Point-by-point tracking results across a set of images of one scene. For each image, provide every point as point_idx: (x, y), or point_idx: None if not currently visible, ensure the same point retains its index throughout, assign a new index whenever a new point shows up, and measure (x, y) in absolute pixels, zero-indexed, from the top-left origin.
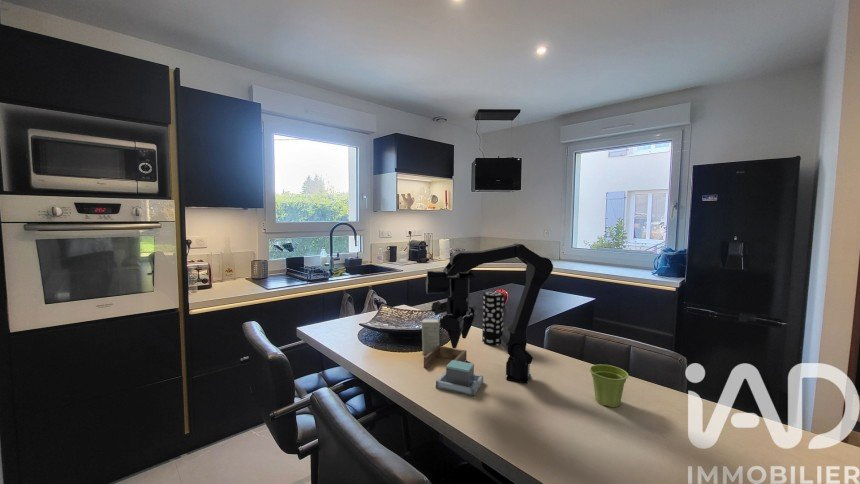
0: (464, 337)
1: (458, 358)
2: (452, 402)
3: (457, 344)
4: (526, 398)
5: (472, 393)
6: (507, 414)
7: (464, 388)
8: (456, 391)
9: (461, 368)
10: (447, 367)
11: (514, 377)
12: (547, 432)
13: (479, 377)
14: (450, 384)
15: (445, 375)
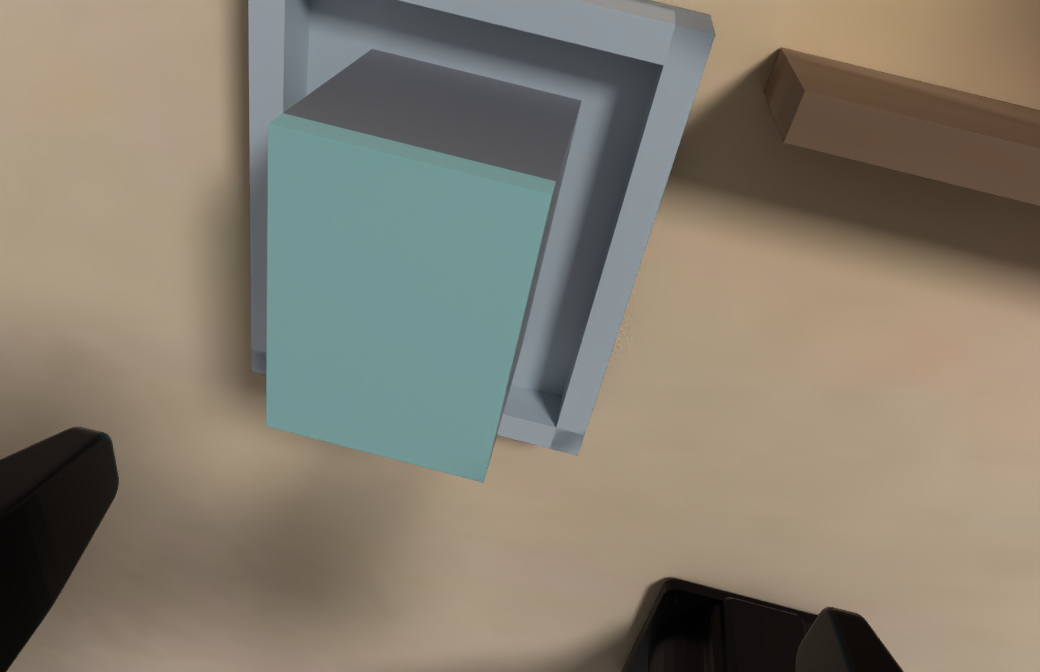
0: (811, 660)
1: (997, 193)
2: (93, 165)
3: (65, 578)
4: (405, 638)
5: None
6: (157, 526)
7: (254, 289)
8: None
9: (280, 349)
10: (276, 139)
11: (659, 647)
12: (102, 654)
13: (528, 423)
14: (251, 140)
15: (505, 22)
